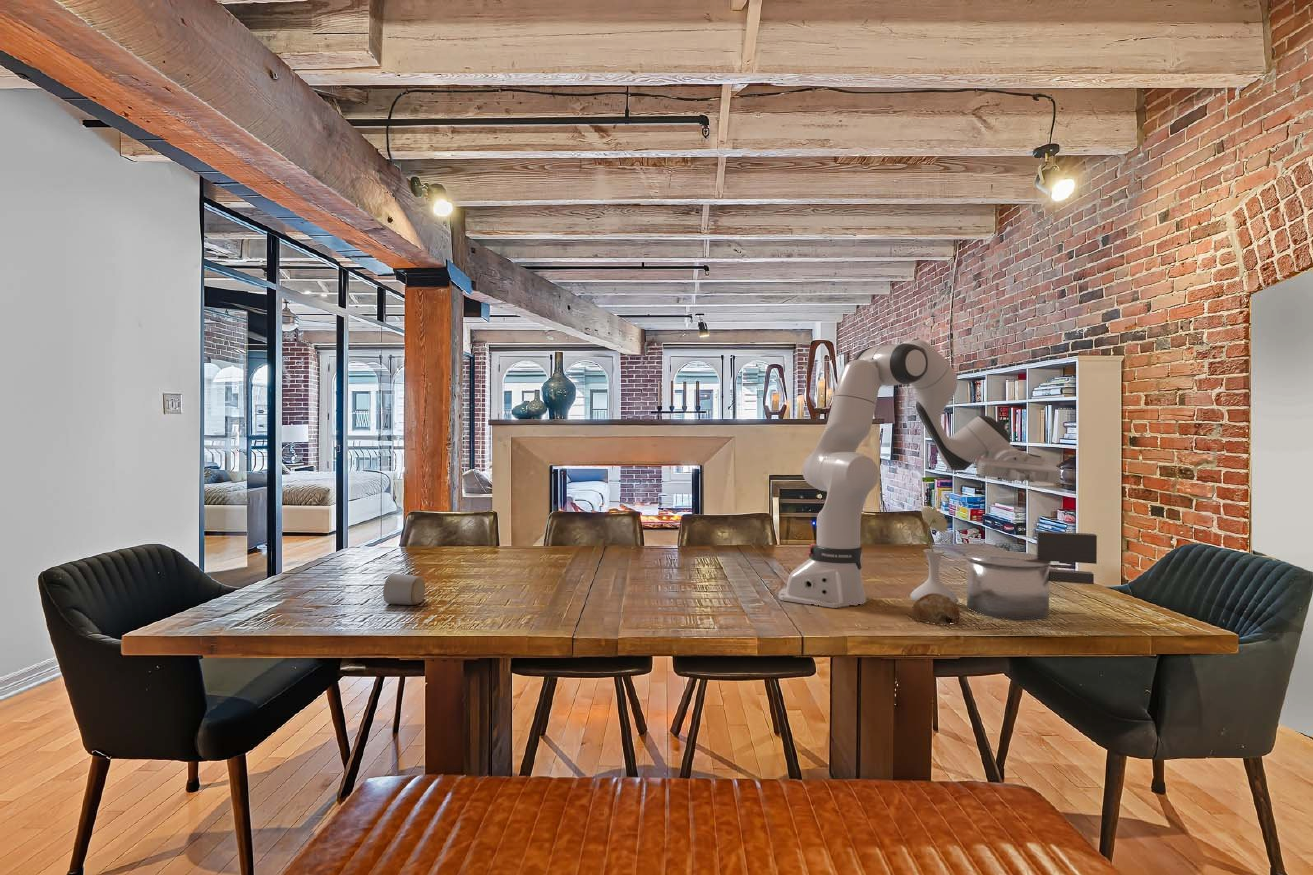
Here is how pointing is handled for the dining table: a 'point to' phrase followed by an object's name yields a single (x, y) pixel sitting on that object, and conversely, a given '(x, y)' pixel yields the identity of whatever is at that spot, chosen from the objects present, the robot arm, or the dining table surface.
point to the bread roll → (936, 609)
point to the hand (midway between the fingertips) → (1027, 478)
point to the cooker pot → (1015, 590)
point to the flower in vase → (933, 558)
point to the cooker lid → (1043, 551)
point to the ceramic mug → (403, 589)
